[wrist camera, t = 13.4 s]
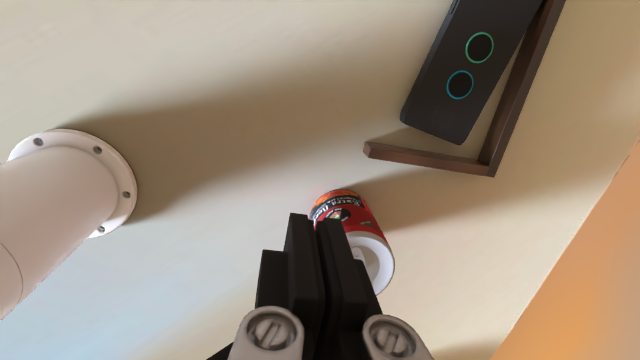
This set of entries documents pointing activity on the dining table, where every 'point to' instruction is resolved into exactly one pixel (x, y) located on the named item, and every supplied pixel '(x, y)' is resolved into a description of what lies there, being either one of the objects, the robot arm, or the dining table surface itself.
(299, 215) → the robot arm
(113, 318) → the dining table surface
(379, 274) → the canned food
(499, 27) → the smart home device
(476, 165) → the dock
